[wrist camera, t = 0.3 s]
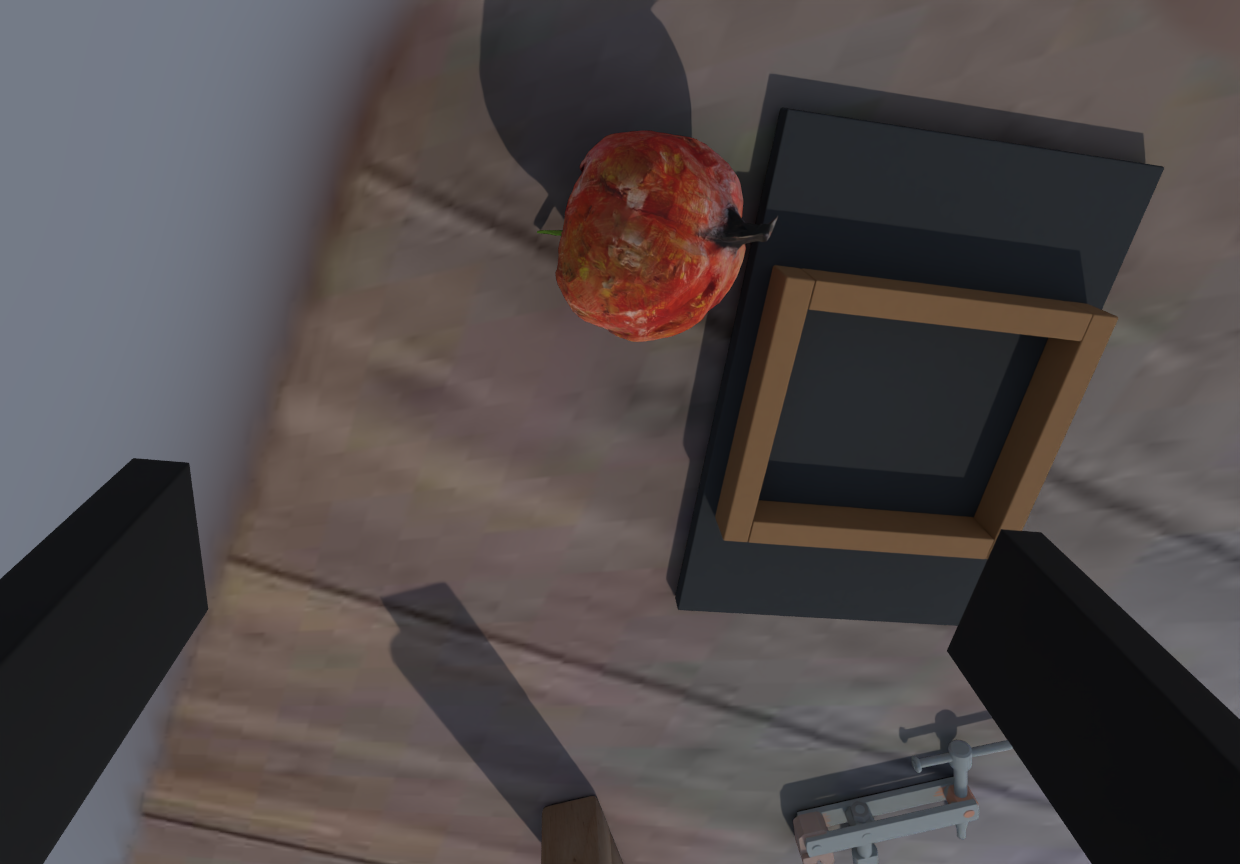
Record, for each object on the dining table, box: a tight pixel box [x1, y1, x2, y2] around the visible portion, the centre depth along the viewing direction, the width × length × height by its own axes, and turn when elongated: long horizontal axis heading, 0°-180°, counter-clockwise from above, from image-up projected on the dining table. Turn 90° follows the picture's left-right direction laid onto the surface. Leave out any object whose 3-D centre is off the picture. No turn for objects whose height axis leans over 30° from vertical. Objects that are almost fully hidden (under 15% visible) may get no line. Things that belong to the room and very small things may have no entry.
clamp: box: [793, 740, 1013, 864], centre depth 46 cm, size 15×2×10 cm
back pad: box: [675, 108, 1164, 626], centre depth 33 cm, size 24×16×3 cm, turn 172°
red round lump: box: [537, 131, 778, 342], centre depth 26 cm, size 7×7×10 cm
